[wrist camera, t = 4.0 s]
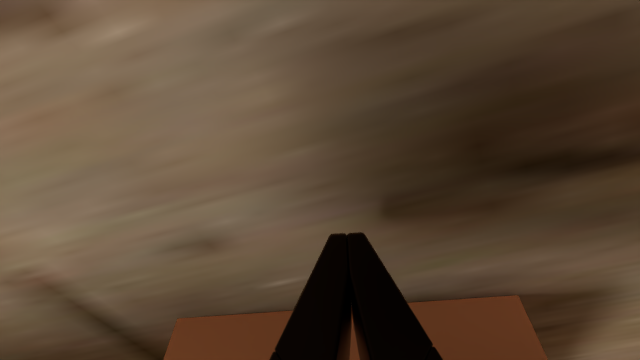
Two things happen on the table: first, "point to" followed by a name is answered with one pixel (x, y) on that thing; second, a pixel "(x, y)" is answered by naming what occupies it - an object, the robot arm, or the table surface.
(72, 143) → the table surface
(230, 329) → the block
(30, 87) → the table surface
